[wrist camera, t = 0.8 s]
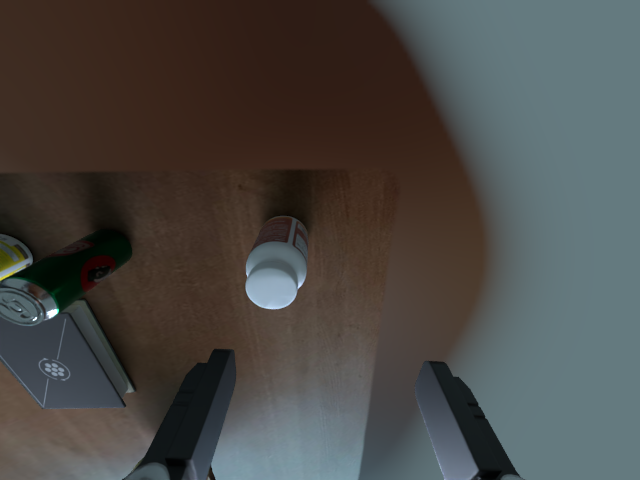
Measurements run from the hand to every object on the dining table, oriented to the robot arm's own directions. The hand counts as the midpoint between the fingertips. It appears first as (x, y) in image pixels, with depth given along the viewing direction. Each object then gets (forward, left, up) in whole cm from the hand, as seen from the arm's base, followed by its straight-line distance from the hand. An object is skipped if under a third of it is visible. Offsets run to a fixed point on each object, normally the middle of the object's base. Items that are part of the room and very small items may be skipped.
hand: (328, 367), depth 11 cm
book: (+39, -30, -22) cm, 54 cm away
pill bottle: (+6, -3, -22) cm, 23 cm away
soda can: (+15, -23, -22) cm, 36 cm away
